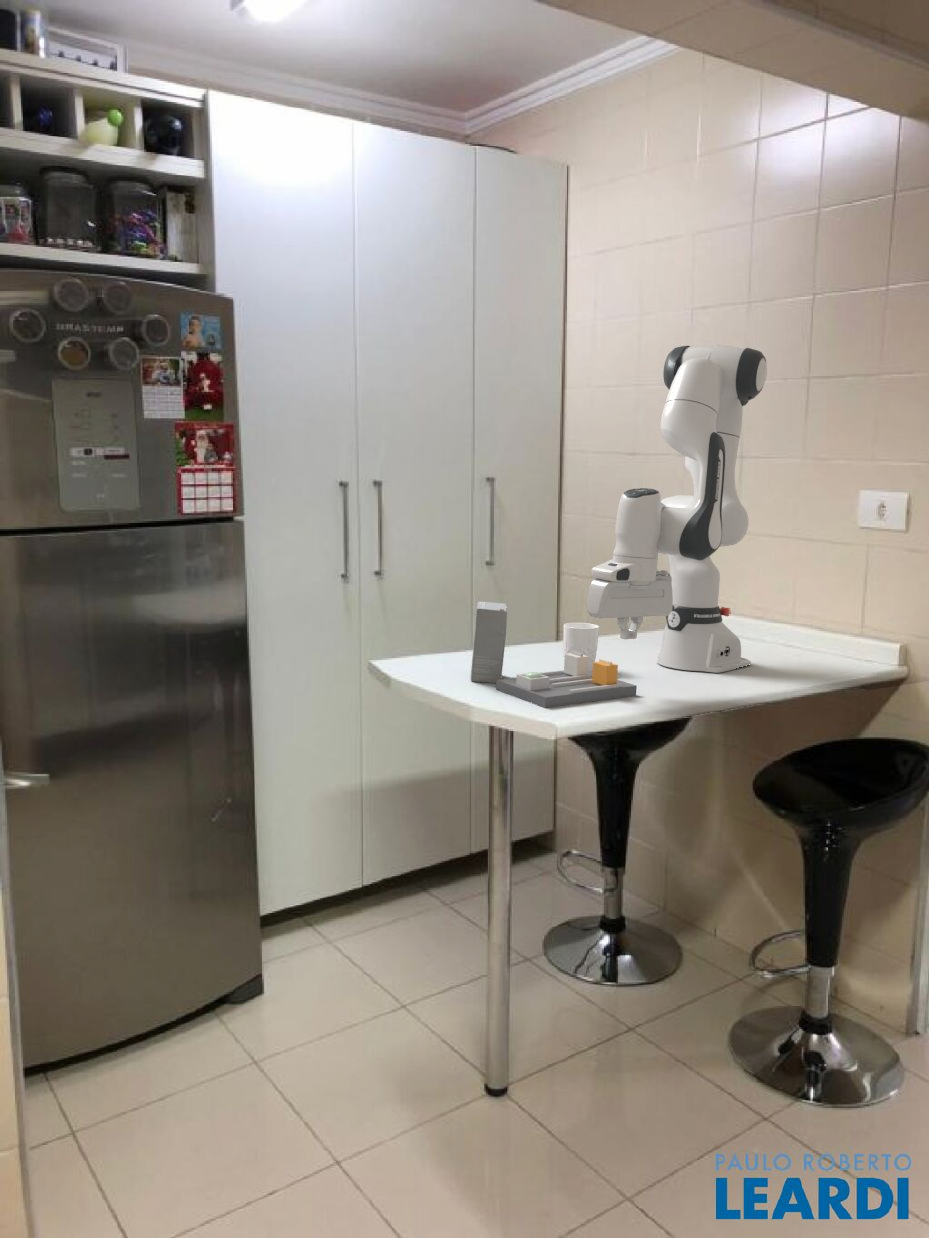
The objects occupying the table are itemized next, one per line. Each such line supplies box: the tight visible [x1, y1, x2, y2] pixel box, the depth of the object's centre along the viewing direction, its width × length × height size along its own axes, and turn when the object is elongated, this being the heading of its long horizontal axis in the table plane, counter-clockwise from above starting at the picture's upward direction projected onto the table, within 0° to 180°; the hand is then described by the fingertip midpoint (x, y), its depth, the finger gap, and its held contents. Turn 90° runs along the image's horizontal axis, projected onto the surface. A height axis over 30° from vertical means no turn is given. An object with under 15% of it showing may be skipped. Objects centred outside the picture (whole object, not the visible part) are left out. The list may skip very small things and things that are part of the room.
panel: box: [496, 669, 637, 709], centre depth 200 cm, size 23×16×4 cm
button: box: [525, 671, 541, 679], centre depth 195 cm, size 3×3×2 cm
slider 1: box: [563, 651, 589, 676], centre depth 207 cm, size 3×4×5 cm
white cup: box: [562, 622, 600, 672], centre depth 222 cm, size 8×8×10 cm
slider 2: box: [592, 658, 619, 685], centre depth 199 cm, size 3×4×5 cm
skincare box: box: [470, 601, 508, 684], centre depth 209 cm, size 8×7×16 cm
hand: (628, 638), depth 201 cm, fingers closed
